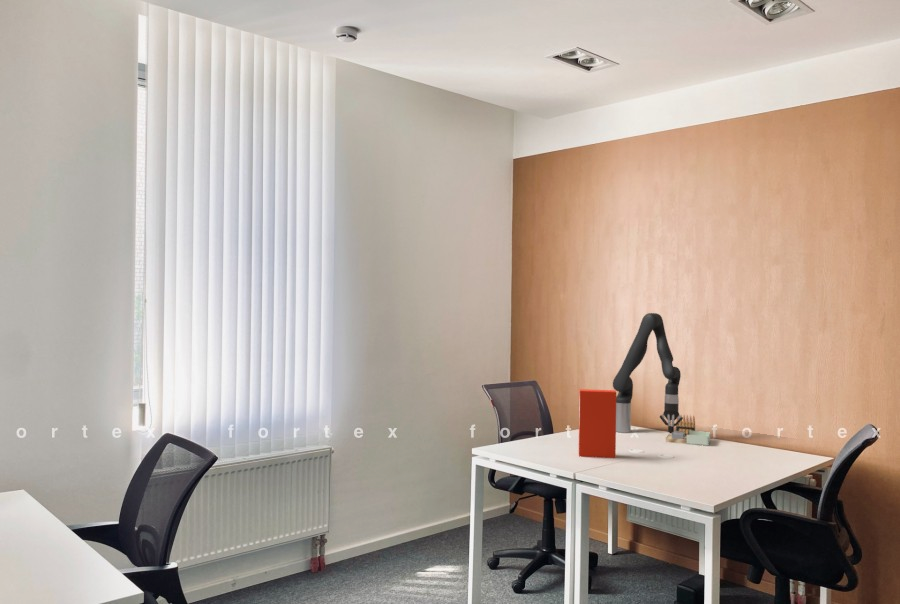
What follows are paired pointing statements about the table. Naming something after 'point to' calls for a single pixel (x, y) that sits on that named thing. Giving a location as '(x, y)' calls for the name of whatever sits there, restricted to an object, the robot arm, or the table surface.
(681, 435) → the tile
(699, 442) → the box
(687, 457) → the table surface
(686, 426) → the ammunition clip
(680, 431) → the tile
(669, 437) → the bench plate
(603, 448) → the file binder
